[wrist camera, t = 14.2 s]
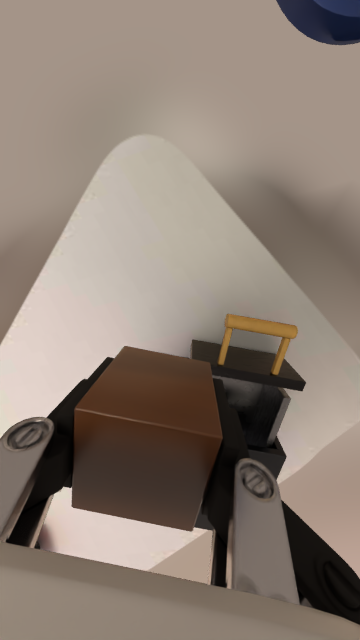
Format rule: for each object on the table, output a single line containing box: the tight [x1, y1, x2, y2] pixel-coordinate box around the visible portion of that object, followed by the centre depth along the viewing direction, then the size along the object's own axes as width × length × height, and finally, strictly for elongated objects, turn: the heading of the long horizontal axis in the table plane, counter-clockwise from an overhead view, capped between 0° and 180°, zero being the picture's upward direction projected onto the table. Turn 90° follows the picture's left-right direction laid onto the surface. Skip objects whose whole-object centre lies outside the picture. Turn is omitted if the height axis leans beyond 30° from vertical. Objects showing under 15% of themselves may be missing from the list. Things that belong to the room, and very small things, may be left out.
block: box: [72, 346, 223, 531], centre depth 8 cm, size 4×4×4 cm
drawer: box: [190, 314, 306, 448], centre depth 25 cm, size 20×12×6 cm, turn 171°
